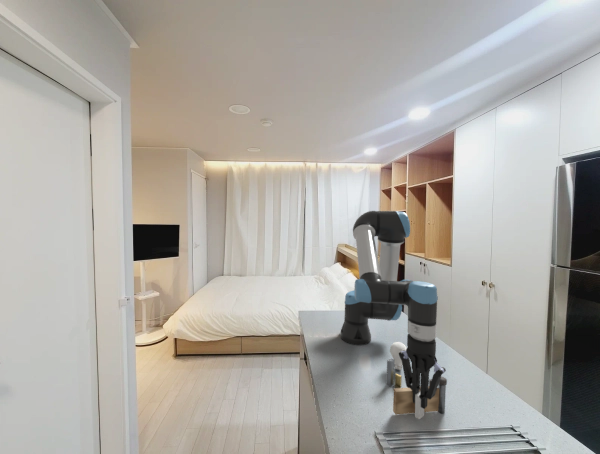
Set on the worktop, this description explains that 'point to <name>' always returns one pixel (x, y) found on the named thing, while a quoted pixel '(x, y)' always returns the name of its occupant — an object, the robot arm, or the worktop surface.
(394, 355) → the light bulb
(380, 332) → the worktop surface
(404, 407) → the gate
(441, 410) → the gate frame
